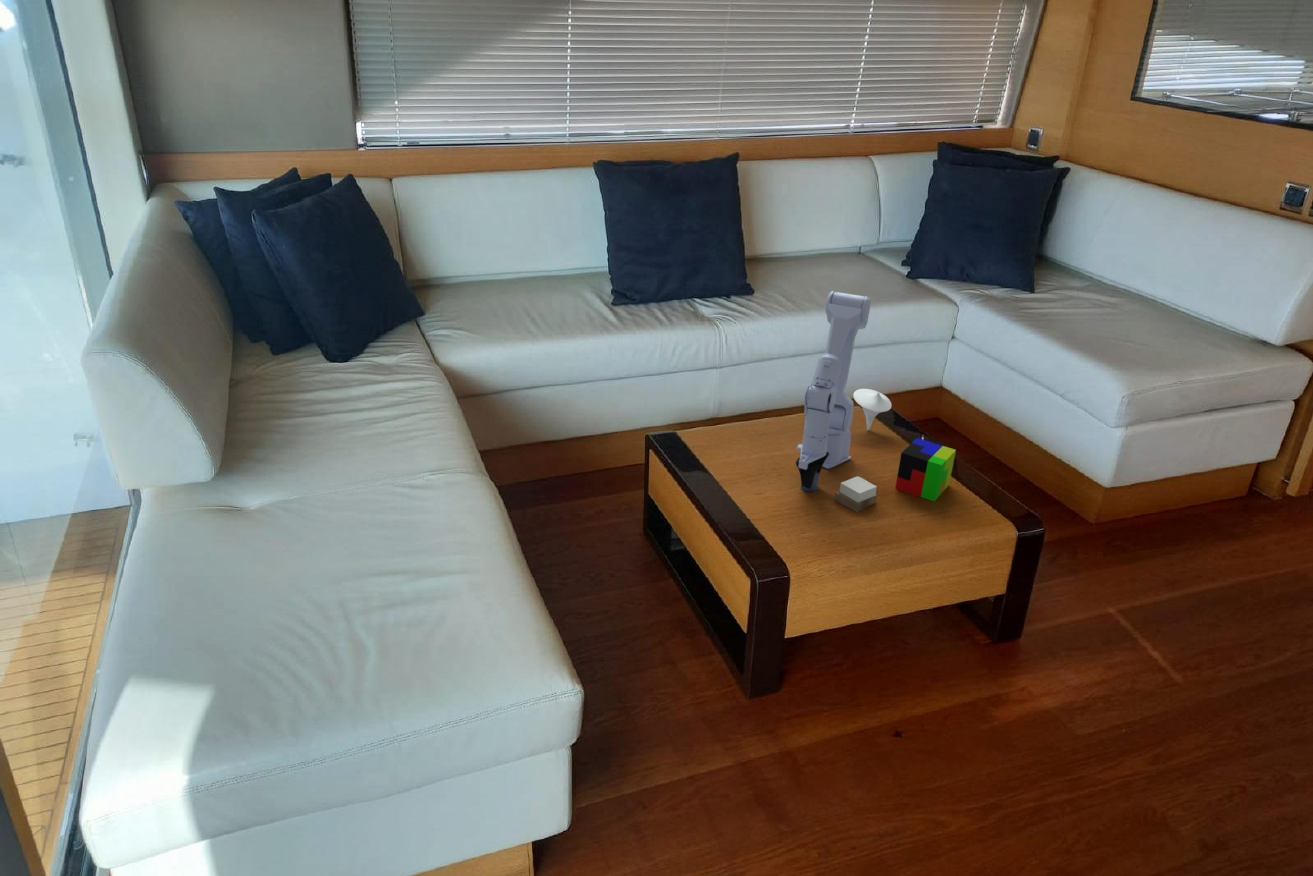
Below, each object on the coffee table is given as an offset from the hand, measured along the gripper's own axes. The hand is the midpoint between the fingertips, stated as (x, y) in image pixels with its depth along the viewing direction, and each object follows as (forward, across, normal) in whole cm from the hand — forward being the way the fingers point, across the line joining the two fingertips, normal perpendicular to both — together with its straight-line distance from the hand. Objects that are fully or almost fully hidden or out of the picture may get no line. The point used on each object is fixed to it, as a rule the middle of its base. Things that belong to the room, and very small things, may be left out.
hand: (809, 482), depth 228 cm
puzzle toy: (+2, -16, +24) cm, 29 cm away
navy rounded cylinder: (+1, 0, 0) cm, 1 cm away
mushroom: (+2, -39, +3) cm, 40 cm away
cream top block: (0, 0, +12) cm, 12 cm away
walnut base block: (+2, 0, +12) cm, 12 cm away
